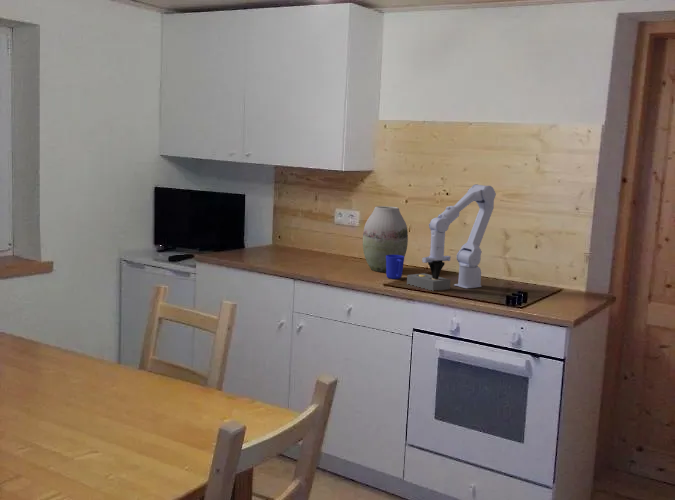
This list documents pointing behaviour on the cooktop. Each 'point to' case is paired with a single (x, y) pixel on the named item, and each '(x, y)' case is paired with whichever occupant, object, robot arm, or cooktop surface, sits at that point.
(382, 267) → the vase
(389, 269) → the mug
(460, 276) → the robot arm
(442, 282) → the block
